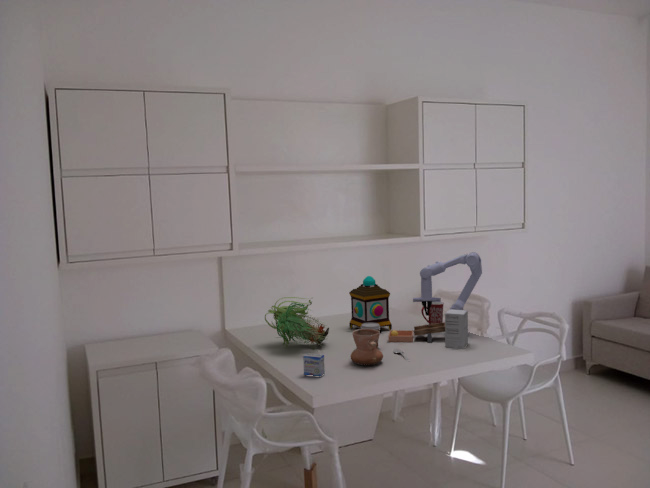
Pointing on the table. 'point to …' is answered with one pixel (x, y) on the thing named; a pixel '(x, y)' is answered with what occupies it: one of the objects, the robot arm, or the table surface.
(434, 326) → the brown wooden tray
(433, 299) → the robot arm
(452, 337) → the supplement box
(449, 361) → the table surface
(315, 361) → the medicine box
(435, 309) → the mug
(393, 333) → the ball
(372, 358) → the ceramic jug
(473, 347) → the table surface
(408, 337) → the tray
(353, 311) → the decorative lantern
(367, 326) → the disposable coffee cup
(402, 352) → the spoon
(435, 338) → the table surface
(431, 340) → the seesaw stand
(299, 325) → the plant
